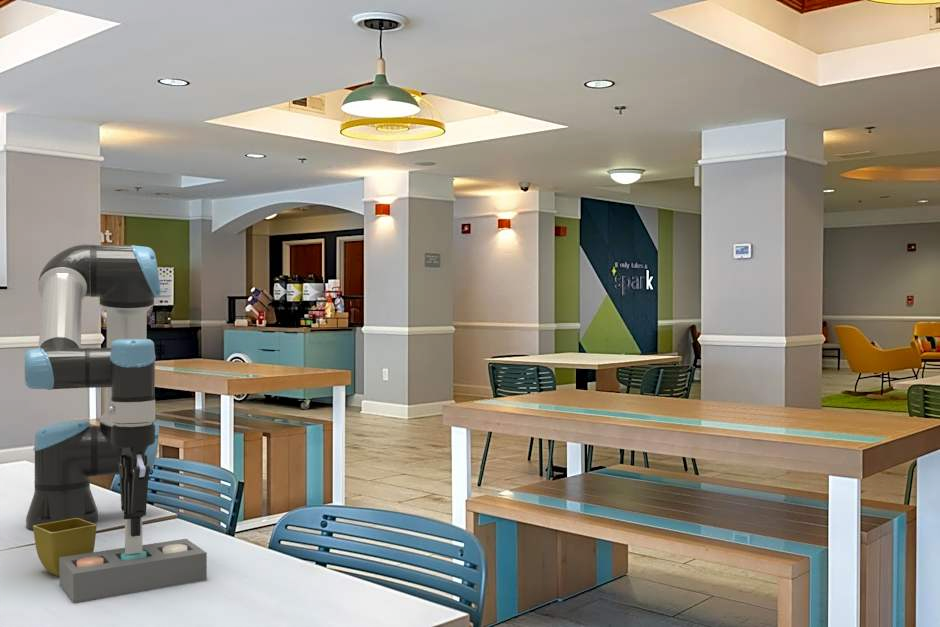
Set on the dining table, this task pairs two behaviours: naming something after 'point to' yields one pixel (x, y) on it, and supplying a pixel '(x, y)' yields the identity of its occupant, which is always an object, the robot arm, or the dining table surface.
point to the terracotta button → (89, 561)
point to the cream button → (174, 548)
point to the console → (131, 571)
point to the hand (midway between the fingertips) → (133, 552)
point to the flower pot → (63, 541)
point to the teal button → (132, 556)
